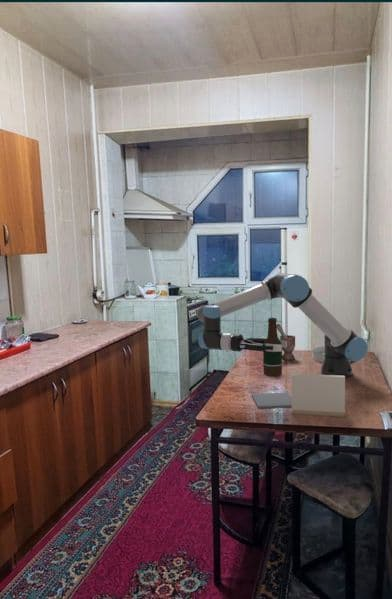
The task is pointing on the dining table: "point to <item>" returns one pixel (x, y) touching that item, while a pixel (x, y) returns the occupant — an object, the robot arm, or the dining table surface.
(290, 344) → the mortar and pestle
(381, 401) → the dining table surface
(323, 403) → the screen
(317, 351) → the dish
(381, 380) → the dining table surface
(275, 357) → the beer bottle
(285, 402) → the mat
